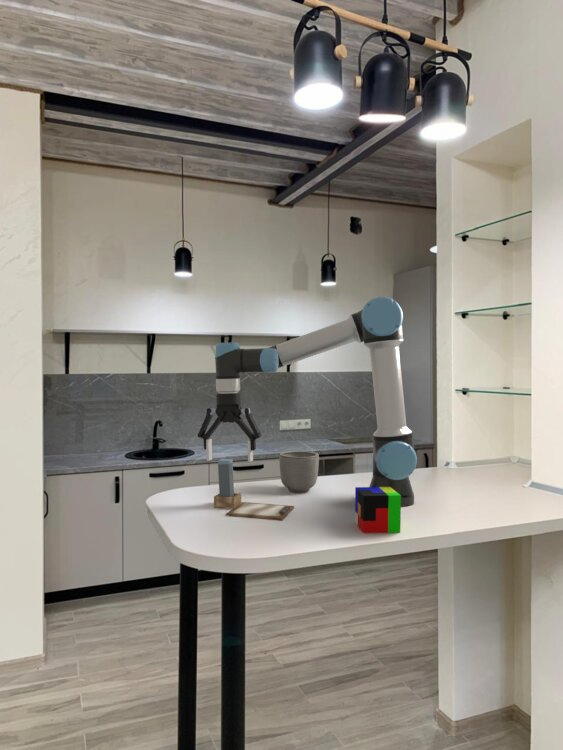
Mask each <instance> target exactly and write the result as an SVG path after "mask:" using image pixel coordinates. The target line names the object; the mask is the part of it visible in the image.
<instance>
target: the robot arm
mask: <svg viewBox="0 0 563 750" xmlns="http://www.w3.org/2000/svg"><path fill="white" fill-rule="evenodd" d="M403 321H404V314H403V309H402V307H401V306H400V305H399V303H398V302H397V301H396V300H394V299H393V298H391V297H389V296H377V297H373V298H371V299H370V300H369V301H367V302H366V303H365V305H364V306H363V308H362V309H361V310H359V311H357V312H355V313H351V314H349V317H348V318H347V319H344V320H342V321H339V322H335V323H333V324H330V325H327V326H326V327H322V328H320V329H317V330H314V331H311V332H309V333H306V334H305V333H304V334H303V335H300V336H296V337H294V338H292V339H289V340H287V341H284V342H281V343H278V344H275V345H272V346H270V347H264V348H262V347H261V348H241V347H240V344H239V342H220V343H217V344H216V345H215V357H214V359H215V360H214V361H215V363H214V364H215V391H216V392H217V393H216V394H215V395H216V396H215V397H216V400H215V401H216V402H215V404H216V408H214V407H208V408H207V409H206V414H205V415H206V416H205V417H204V419H203V422H202V424H201V426H200V429H199V430H198V433H197V437H198V438H200V439H202V440H203V449H204V450H205V451H206V461H208V462H209V461H211V460H213V439H212V438H211V437H212V435H213V434H214V432H215V431H216V430H217V428H218V427H219V426H220V425H221V423H223V424H224V423H235V424H237V426H239V428H240V429H241V430H242V431H243V433H244V434H245V435H246V436H247V437H248V440H247V462H248V463H249V462H250V463H251V462H253V461H254V452H253V451H255V450H256V449H257V445H256V442H257V441H256V440H257V439H260V438H262V433H261V432H260V428H259V427H258V425H257V423H256V421H255V419H254V417H253V415H252V410H251V408H250V407H246V408H242V407H241V399H242V398H241V393H240V391H241V374H247V373H248V374H261V373H264V374H269V373H277V372H278V370H279V369H280V368H283V367H285V366H289V365H291V364H295V363H297V362H299V361H302V360H306V359H308V358H311V357H314V356H316V355H320V354H322V353H325V352H329V351H331V350H334V349H337V348H339V347H342V346H345V345H347V344H350V343H354V342H358V343H359V344H361V343H363V345H364V346H365V347H367V348H368V349H369V353H370V355H369V356H370V363H371V365H370V366H371V374H372V375H371V376H372V383H373V384H372V386H373V393H374V394H373V395H374V405H375V407H374V408H375V415H376V425H377V426H376V427H377V428H376V430H375V431H374V432H373V434H372V436H373V437H372V476H371V477H372V478H371V481H370V482H369V486H368V487H391V488H392V489H393V490H395V491H396V492H397V493H398V494H400V495H401V507H406V506H410V505H413V504H414V503H415V493H414V491H413V486H412V483H411V480H410V476H411V475H412V474H413V473H414V471H415V469H416V467H417V463H418V457H417V453H416V451H415V446H414V436H413V435H414V434H413V430H411V429H410V428H409V427H408V426H407V418H406V417H407V416H406V408H405V397H404V387H403V377H402V376H403V374H402V368H401V367H402V366H401V356H400V345H401V344H402V343H403V342H404V335H403ZM215 414H216V416H217V417H216V418H215V420H214V422H213V423H212V425H210V423H211V421H212V418H213V416H214V415H215ZM241 414H243V415H244V417H245V419H246V420H247V423H248V425H249V426H250V427H249V426H248V425H247V424H246V422H245V421H244V420H243V418H242V417H241ZM209 425H210V427H209ZM208 427H209V428H208ZM207 429H208V430H207Z"/></svg>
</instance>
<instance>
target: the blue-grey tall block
mask: <svg viewBox="0 0 563 750" xmlns="http://www.w3.org/2000/svg"><path fill="white" fill-rule="evenodd" d="M233 460H234V459H233V458H220V459H218V460H217V471H218V472H217V473H218V494H219V496H221V497H234V493H235V488H234V487H235V485H234V483H235V482H234V466H233V465H234V464H233V463H234V461H233Z"/></svg>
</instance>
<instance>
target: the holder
mask: <svg viewBox="0 0 563 750" xmlns="http://www.w3.org/2000/svg"><path fill="white" fill-rule="evenodd" d="M241 502H242V493H241V492H234V497H221V496H219V493H218V494H216V495H214V496H213V508H214V507H215V508H214V509H225V508H227V510H228V509H229V510H232V509H233V508H235V507H236V506H237V505H239V504H240V503H241Z"/></svg>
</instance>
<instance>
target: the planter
mask: <svg viewBox="0 0 563 750" xmlns="http://www.w3.org/2000/svg"><path fill="white" fill-rule="evenodd" d="M278 458H279V461H278V462H279V474H280V480H281V484H282V485H283V486H284V487H285V488H287V490H288V491H289V492H290V493H294V494H305V493H308V492H310V490H311V489H312V488H313V487H314V486H315V485H316V483H317V481H318V475H319V463H320V456H319V453H318V452H315V451H306V450H305V451H304V450H303V451H302V450H293V451H292V450H291V451H290V450H289V451H283V452H281V453H279V456H278Z"/></svg>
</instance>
